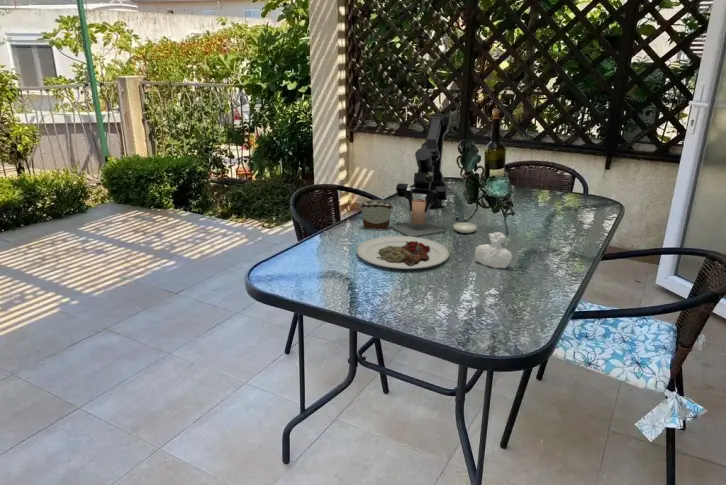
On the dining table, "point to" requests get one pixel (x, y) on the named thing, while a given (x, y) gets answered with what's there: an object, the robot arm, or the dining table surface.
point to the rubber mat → (417, 229)
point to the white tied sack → (494, 252)
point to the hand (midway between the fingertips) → (418, 211)
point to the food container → (376, 214)
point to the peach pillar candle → (418, 211)
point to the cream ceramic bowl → (464, 227)
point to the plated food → (402, 252)
